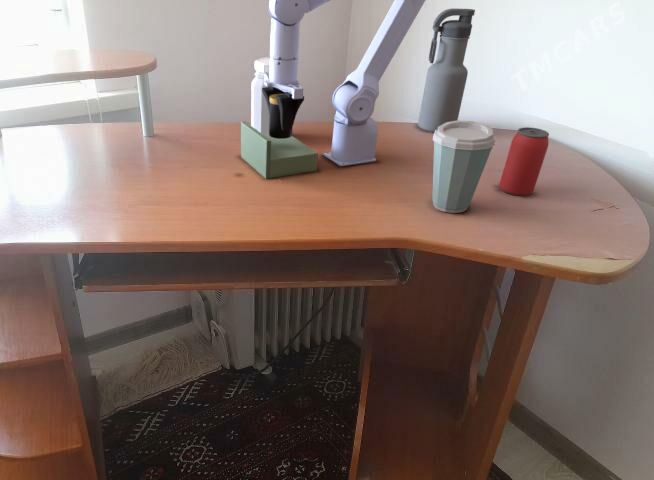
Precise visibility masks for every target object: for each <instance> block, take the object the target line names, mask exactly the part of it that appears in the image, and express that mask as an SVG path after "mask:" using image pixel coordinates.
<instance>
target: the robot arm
mask: <svg viewBox="0 0 654 480" xmlns="http://www.w3.org/2000/svg"><path fill="white" fill-rule="evenodd" d="M330 1H331V0H269V1H268V3H267V5H266V7H267V11H268V14H269V15H270V17H271V19H270V20H271V21H270V33H269V35H270V37H269V39H270V40H269V57H270V67H269V73H265V74H264V85H265V86H268V87H265V88H262V92H263V94H264V96H265V99H266V102H267V105H268V110H269V115H270V101H269V100H270V96H271V95H273V94H285V95H276V99H277V102H278V105H279V109H280V118H281V128H282V130H291V129H292V130H293V127H294V123H295V120H296V116H297V114H298V111H299V109H300V108H301V105H302V104H303V102H304V101H305V96H304V88H303V87H302V86H301V84H300V83H299V80H298V69H299V66H298V65H299V50H300V49H299V48H300V34H301V33H300V26H301V21H302V19H304V16H305V14H308V13H310V12H312V11H313V10H315V9H317V8H319V7H321V6H323V5H324V4H326V3H328V2H330ZM425 2H426V0H394V1H393V2H392V4H391V6H390V8H389V9H388V12H387V13H386V15H385V17H384V19H383V20H382V23H381V24H380V26H379V28H378V30H377V31H376V34H375V35H374V37H373V39H372V40H371V43H370V45H368V48H367V50H366V51H365V53H364V54H363V57H362V59H361V61H360V62H359V64H358V66H357V68H356V69H355V70H353V71H352V72H351V73H349V74H348V75H347V76H346V78H345V80H344V81H343V83H341V84H340V85H339V86H338V87H337V88H336V89H335V90H334V92H333V94H332V97H331V98H332V100H331V101H332V105H333V107H334V109H335V110H336V112H335V115H334V118H333V119H334V122H333V130H332V142H331V151H330V152H324V153H323V156H324V157H325V158H327V159H328V160H329V161H331V162H333V163H334V164H336V165H337V166H338V167H347V166H353V165H354V166H355V165H360V164H361V165H362V164H367V163H374V162H377V158H376V157H375V155H376V149H377V141H378V133H379V130H378V125H377V122H376V121H375V119H373V118H372V116H373V113H374V110H375V105H376V101H377V99H378V97H379V95H380V81H381V79H382V77H383V76H384V73H385V72H386V70H387V68H388V67H389V65H390V63H391V61H392V60H393V58H394V56H395V55H396V53H397V52H398V49H399V47H400V45H402V42H403V40H404V38H405V37H406V35H407V33H408V32H409V31H410V28H411V26H412V25H413V24H414V21H415V20H416V18H417V16H418V14H419V13H420V10H421V9H422V8H423V5H424V4H425Z"/></svg>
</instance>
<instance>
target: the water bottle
mask: <svg viewBox="0 0 654 480" xmlns="http://www.w3.org/2000/svg"><path fill="white" fill-rule="evenodd" d="M475 13H476V10H475V9H473V8H447V9H445V10H442V11H441V12H440V13H439V14H438V15H437V16H436V17H435V19H434V21H433V24H432V30H433V36H432V39H431V42H430V48H429V54H428V61H429V64H431V65H430V66H429V67H428V68H427V72H426V76H425V83H424V88H423V92H422V93H423V94H422V99H421V104H420V110H419V115H418V120H417V126H418V127H419V128H420V129H421V130H423V131H425V132H429V133H434V132H435V131H436V130H438V127H439V126H440V125H442V124H444V123H446V122H452V121H458V120H459V115H460V111H461V106H462V103H463V98H464V93H465V89H466V84H467V79H468V73H469V71H468V69H467V67H466V66H465V65H464V61H465V56H466V51H467V46H468V42H469V39H470V38H471V37H470V36H471V34H472V29H473V23H472V22H473V21H472V20H473V16H475ZM452 16H453V17H456V16H458V19H450V20H446V19H447V18H450V17H452ZM444 20H445V21H444ZM439 34H440V35H439ZM438 35H439V43H438ZM437 47H438V48H437ZM436 51H437V53H436ZM435 56H436V59H435ZM435 60H436V61H435Z"/></svg>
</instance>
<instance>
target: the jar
mask: <svg viewBox="0 0 654 480" xmlns="http://www.w3.org/2000/svg"><path fill="white" fill-rule="evenodd" d="M269 67H270V56H267V57H265V56H264V57H259V58H257V59H256V60H254V70H255V72H254V76H255V77H254V78H253V79H252V81H251V87H250V89H251V91H250V92H251V96H250V97H251V99H250V100H251V101H250V102H251V103H250V108H251V109H250V125H251V126H252V127H253V128H255V129H256V130H257V131H259V132H260V133H261V134H263V135H264V136H265V137H268V136H269V116H270V115H269V110H268V105H267V102H266V99H265V96H264V94H263V92H262V88H265V87H268V86H265V85H264V74H265V73H269Z"/></svg>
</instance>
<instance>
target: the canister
mask: <svg viewBox="0 0 654 480" xmlns="http://www.w3.org/2000/svg"><path fill="white" fill-rule="evenodd" d="M276 95H285V94H273V95H271V96H270V100H269V101H270V116H269V136H270V137H273V138H278V139H285V138H290V137H291V136H293V128H292V129H291V130H282V128H281V118H280V109H279V105H278V102H277V99H276Z"/></svg>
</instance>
